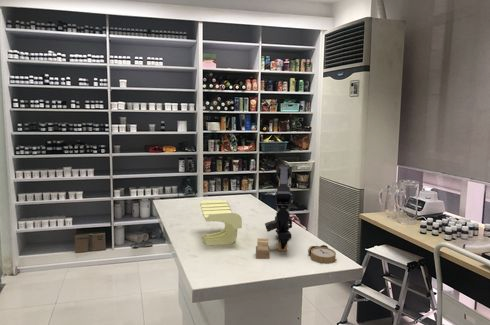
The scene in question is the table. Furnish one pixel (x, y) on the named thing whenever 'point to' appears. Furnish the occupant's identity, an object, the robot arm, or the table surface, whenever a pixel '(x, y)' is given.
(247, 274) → the table surface
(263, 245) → the oak block
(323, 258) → the alarm clock
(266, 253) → the walnut block
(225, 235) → the slatted curved stool
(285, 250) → the grey-faced wooden cube
